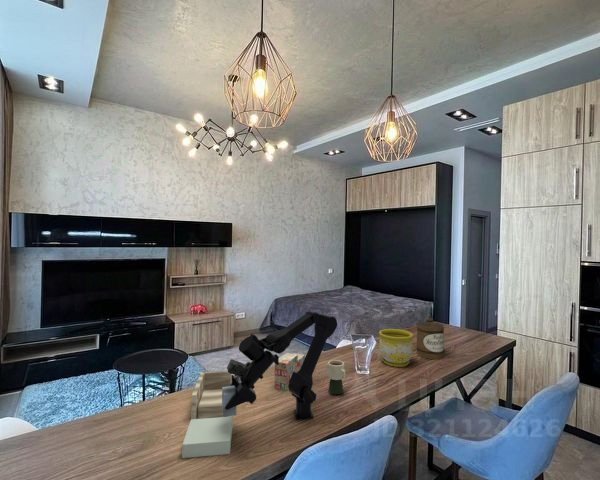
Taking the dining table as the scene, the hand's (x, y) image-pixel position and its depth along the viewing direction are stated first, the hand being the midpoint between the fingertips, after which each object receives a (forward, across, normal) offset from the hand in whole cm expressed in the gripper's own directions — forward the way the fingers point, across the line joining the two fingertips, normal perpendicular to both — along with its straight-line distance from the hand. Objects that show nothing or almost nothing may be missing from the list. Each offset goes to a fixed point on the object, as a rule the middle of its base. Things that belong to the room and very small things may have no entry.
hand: (224, 404), depth 105 cm
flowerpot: (-60, -41, +76) cm, 105 cm away
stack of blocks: (-16, -37, +32) cm, 52 cm away
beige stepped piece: (+10, -25, +7) cm, 28 cm away
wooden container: (-79, -45, +95) cm, 132 cm away
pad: (+12, 0, +5) cm, 12 cm away
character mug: (-27, -19, +43) cm, 54 cm away
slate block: (+1, 0, +3) cm, 3 cm away
